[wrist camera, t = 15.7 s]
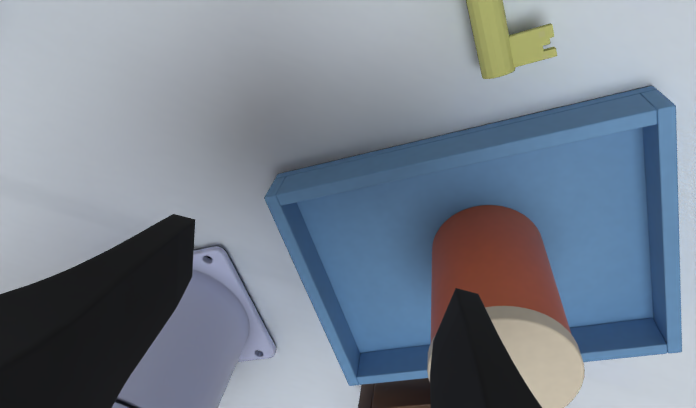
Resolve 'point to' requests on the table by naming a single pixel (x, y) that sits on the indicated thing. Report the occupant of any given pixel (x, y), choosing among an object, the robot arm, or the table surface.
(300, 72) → the table surface
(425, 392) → the compartment box
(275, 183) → the tray
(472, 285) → the snack tub
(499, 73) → the key
